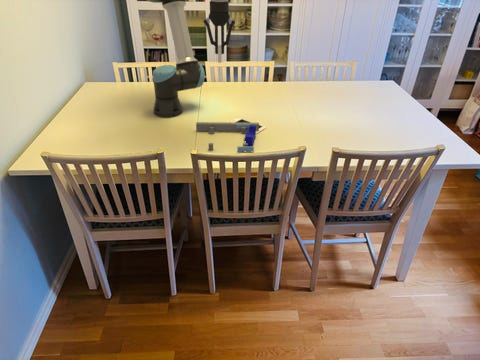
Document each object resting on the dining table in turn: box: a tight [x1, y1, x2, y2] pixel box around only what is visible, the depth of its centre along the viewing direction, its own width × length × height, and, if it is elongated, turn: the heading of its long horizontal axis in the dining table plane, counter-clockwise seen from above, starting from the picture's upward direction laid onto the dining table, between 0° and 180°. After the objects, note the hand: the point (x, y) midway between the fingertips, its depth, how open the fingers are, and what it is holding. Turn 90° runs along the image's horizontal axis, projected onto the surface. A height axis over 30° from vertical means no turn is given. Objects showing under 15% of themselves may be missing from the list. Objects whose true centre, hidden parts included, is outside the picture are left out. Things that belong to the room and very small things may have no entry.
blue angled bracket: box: [243, 125, 257, 146], centre depth 152 cm, size 12×4×6 cm, turn 170°
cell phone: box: [229, 117, 267, 135], centre depth 168 cm, size 9×18×1 cm, turn 52°
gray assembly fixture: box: [195, 121, 260, 153], centre depth 153 cm, size 30×22×4 cm
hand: (219, 61), depth 145 cm, fingers closed
